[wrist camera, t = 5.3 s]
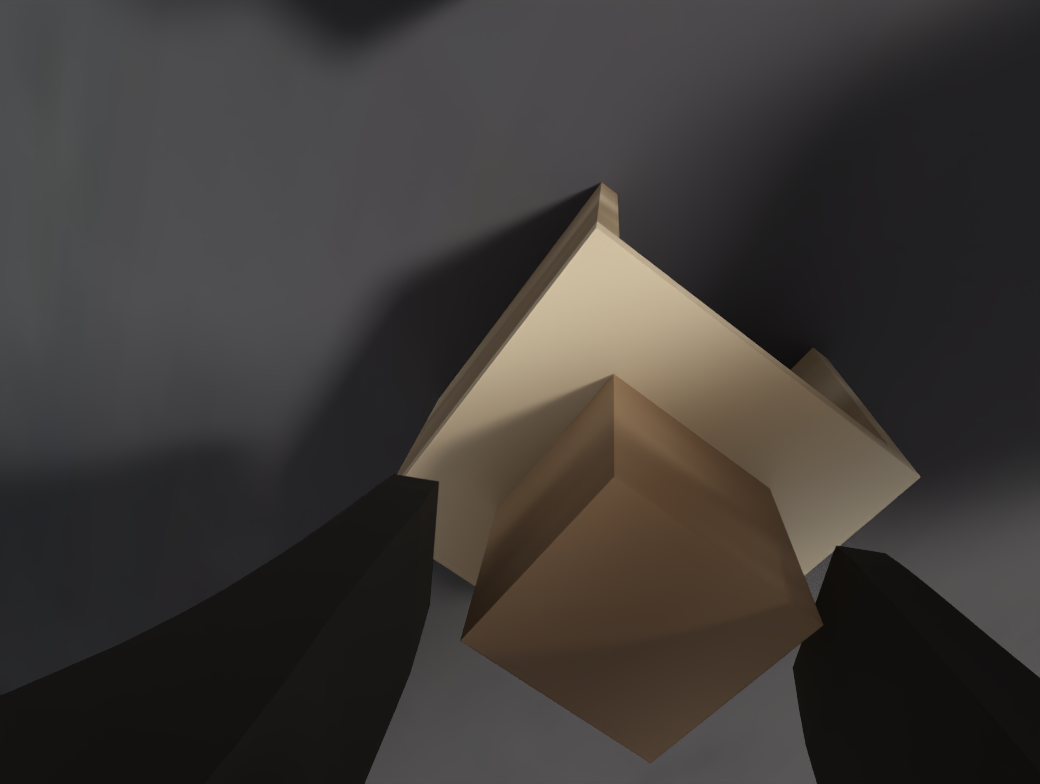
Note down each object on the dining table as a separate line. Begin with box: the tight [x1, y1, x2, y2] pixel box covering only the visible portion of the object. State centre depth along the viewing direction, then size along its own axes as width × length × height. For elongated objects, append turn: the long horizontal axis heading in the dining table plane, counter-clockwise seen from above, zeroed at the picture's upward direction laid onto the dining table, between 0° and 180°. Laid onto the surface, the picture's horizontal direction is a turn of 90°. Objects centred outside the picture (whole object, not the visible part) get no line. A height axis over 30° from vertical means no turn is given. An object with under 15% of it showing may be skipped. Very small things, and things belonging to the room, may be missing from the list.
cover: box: [397, 182, 920, 763], centre depth 12 cm, size 6×6×8 cm
